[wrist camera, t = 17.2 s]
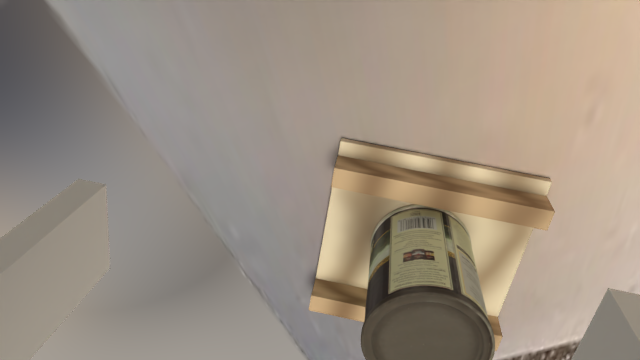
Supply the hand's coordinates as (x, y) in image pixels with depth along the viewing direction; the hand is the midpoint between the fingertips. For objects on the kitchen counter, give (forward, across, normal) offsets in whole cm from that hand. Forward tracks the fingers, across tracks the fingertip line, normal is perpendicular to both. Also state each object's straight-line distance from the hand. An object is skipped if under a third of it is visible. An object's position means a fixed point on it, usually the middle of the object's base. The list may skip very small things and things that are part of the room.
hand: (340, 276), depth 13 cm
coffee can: (+34, +8, -20) cm, 40 cm away
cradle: (+35, +8, -20) cm, 41 cm away
